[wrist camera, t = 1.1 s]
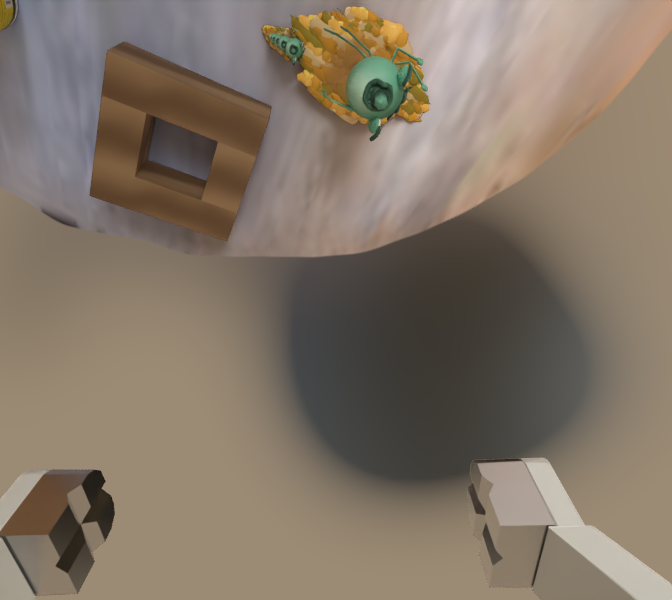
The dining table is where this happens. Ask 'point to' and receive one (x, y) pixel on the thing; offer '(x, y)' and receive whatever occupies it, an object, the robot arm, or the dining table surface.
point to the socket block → (182, 110)
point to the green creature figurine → (355, 65)
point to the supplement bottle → (7, 12)
